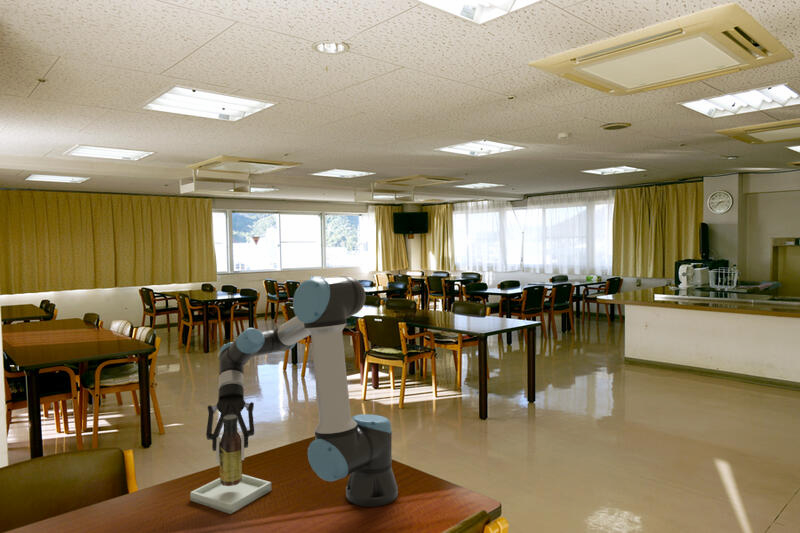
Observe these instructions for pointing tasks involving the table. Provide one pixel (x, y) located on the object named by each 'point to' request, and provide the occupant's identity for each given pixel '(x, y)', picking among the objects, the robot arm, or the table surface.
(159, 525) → the table surface
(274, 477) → the table surface
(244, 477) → the tray
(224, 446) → the sauce bottle
